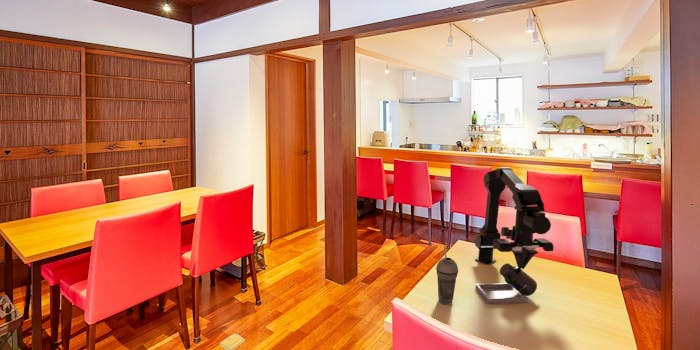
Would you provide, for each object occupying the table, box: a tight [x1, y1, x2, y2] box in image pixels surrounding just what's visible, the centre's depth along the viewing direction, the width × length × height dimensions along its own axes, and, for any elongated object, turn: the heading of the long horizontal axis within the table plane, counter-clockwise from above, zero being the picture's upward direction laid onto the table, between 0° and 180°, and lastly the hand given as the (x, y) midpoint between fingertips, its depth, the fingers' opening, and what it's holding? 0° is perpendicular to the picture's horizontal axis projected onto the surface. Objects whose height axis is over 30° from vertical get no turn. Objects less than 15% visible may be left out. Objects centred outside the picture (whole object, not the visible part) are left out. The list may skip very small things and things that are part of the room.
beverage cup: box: [435, 244, 459, 306], centre depth 119 cm, size 7×7×20 cm
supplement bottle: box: [499, 263, 538, 297], centre depth 123 cm, size 7×7×12 cm
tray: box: [475, 282, 529, 305], centre depth 124 cm, size 14×10×2 cm
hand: (520, 268), depth 122 cm, fingers closed
